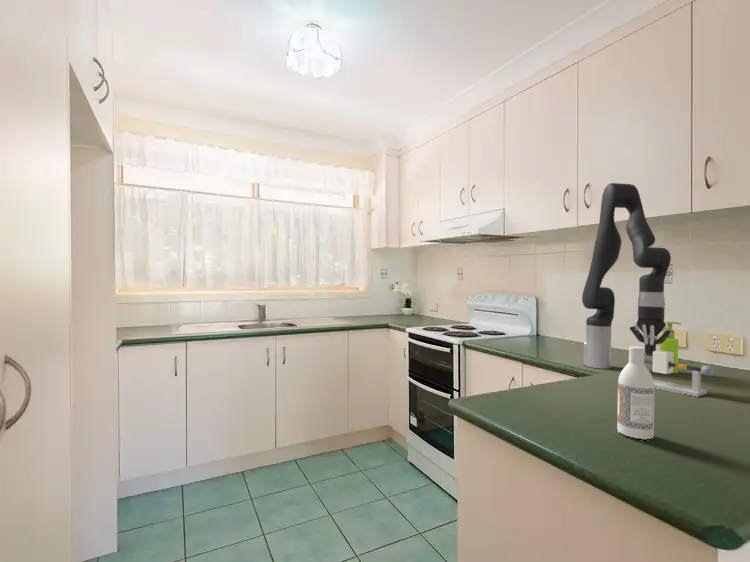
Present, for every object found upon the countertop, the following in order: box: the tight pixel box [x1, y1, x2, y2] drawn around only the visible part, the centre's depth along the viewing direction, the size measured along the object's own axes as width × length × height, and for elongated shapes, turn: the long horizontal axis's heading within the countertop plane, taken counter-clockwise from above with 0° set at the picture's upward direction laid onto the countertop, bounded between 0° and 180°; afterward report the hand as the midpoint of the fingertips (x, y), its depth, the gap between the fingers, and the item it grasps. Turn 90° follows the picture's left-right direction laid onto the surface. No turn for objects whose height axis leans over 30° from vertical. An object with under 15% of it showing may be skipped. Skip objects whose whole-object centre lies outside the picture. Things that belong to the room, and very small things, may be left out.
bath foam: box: [616, 345, 656, 440], centre depth 91 cm, size 7×7×20 cm
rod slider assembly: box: [644, 358, 715, 398], centre depth 133 cm, size 22×8×10 cm, turn 33°
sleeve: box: [652, 349, 674, 375], centre depth 135 cm, size 4×6×7 cm
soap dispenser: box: [659, 321, 682, 374], centre depth 160 cm, size 6×7×20 cm
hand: (650, 355), depth 138 cm, fingers closed
